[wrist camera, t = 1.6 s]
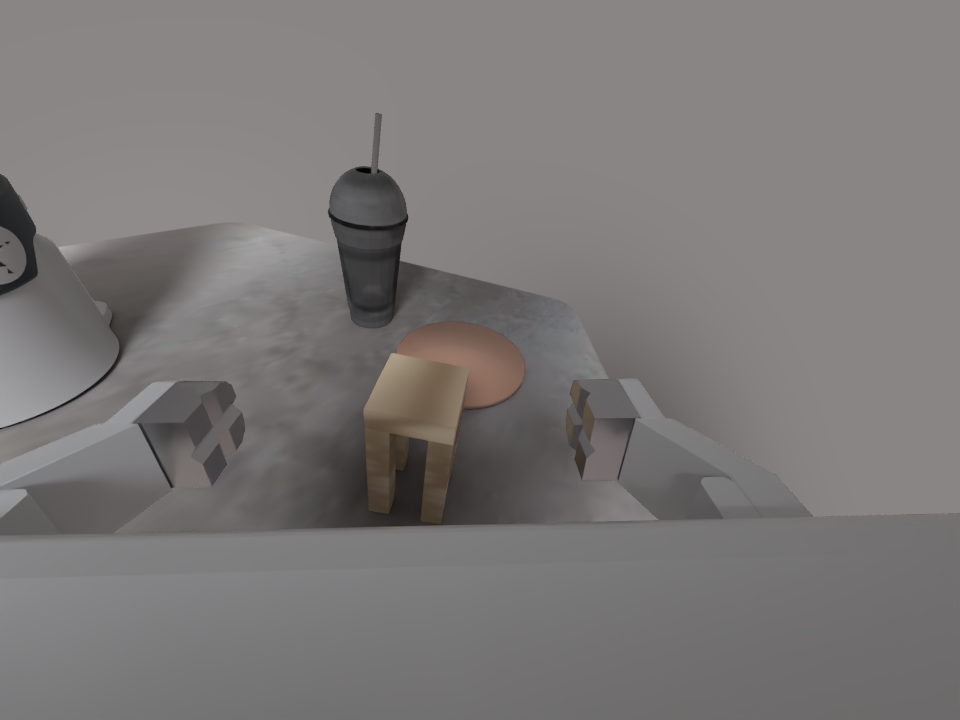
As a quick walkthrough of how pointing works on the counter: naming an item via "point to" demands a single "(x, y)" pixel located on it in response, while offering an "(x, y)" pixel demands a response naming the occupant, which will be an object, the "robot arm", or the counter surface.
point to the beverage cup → (369, 238)
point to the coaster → (471, 358)
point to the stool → (413, 428)
